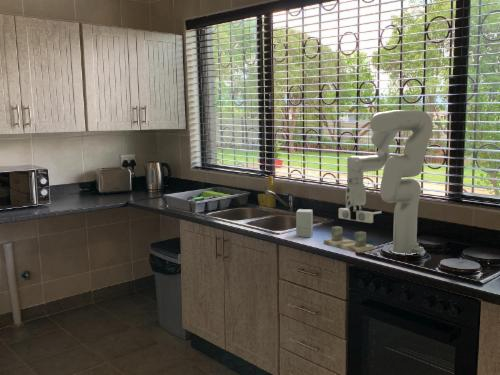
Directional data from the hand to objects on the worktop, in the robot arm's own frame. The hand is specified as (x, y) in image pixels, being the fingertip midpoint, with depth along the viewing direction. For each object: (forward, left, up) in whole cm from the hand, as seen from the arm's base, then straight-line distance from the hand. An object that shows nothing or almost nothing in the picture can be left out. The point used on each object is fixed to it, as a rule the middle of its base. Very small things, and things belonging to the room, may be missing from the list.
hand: (355, 218), depth 243 cm
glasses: (0, -3, -1) cm, 3 cm away
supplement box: (+17, +18, -9) cm, 26 cm away
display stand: (-11, +17, -9) cm, 22 cm away
